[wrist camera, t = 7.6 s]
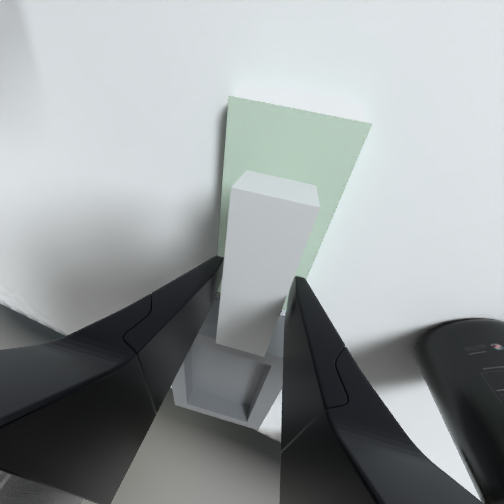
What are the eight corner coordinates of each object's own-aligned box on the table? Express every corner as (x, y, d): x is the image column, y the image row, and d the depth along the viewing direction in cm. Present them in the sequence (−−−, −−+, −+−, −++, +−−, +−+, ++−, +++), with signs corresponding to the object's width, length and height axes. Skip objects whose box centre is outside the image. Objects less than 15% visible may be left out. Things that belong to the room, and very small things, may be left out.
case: (262, 395, 27) (257, 430, 24) (188, 374, 27) (175, 404, 25) (298, 320, 17) (297, 361, 15) (183, 289, 18) (161, 323, 15)
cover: (292, 301, 16) (288, 384, 11) (218, 282, 17) (184, 354, 12) (365, 122, 9) (436, 138, 4) (235, 96, 10) (166, 84, 5)
